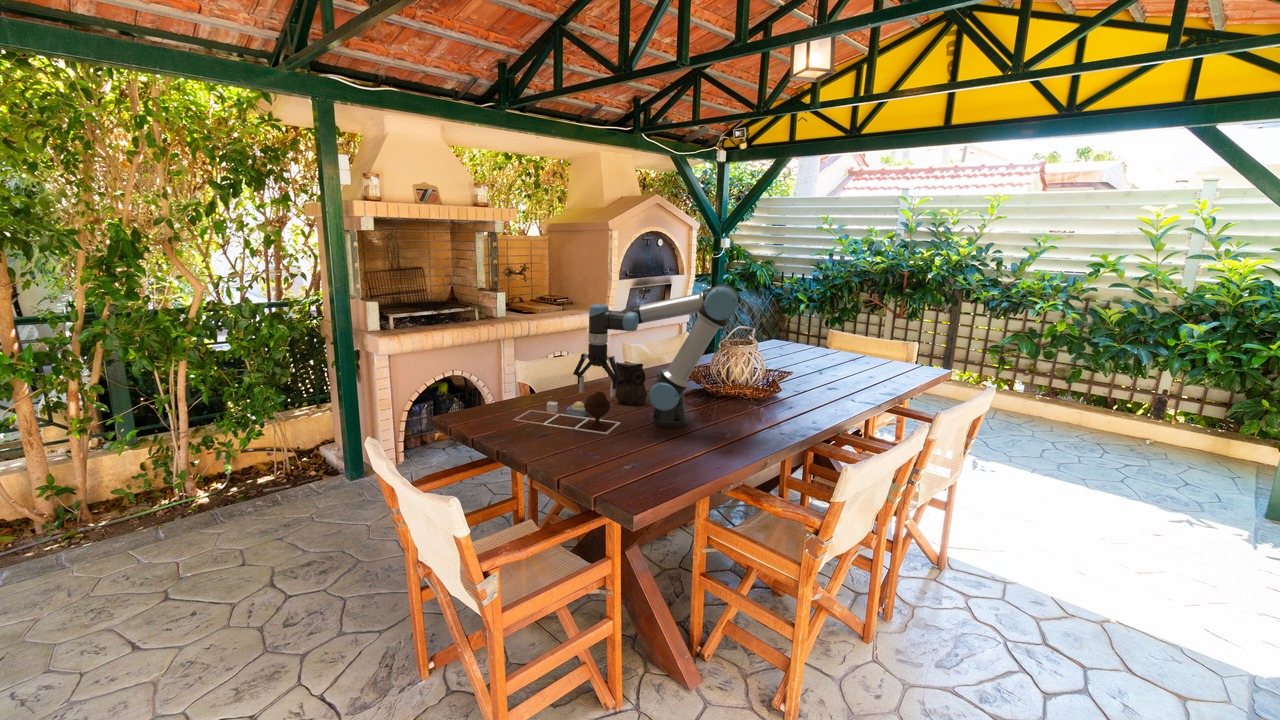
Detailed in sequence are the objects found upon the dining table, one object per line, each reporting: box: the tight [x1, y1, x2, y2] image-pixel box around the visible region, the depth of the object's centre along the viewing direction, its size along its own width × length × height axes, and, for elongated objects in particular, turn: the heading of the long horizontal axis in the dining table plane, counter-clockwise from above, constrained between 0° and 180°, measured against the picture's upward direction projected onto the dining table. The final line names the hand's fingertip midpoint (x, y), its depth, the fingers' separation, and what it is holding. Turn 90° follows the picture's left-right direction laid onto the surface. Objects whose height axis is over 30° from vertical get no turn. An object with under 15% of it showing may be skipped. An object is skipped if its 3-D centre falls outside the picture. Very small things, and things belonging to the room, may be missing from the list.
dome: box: [572, 400, 585, 410], centre depth 255 cm, size 6×6×5 cm
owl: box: [614, 361, 648, 407], centre depth 270 cm, size 13×13×20 cm
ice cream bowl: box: [584, 391, 612, 429], centre depth 239 cm, size 11×11×15 cm
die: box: [546, 401, 559, 413], centre depth 258 cm, size 4×4×4 cm
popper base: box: [566, 403, 589, 417], centre depth 256 cm, size 8×8×3 cm
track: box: [512, 409, 622, 435], centre depth 245 cm, size 15×43×1 cm, turn 71°
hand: (596, 394), depth 238 cm, fingers open, 13 cm apart
